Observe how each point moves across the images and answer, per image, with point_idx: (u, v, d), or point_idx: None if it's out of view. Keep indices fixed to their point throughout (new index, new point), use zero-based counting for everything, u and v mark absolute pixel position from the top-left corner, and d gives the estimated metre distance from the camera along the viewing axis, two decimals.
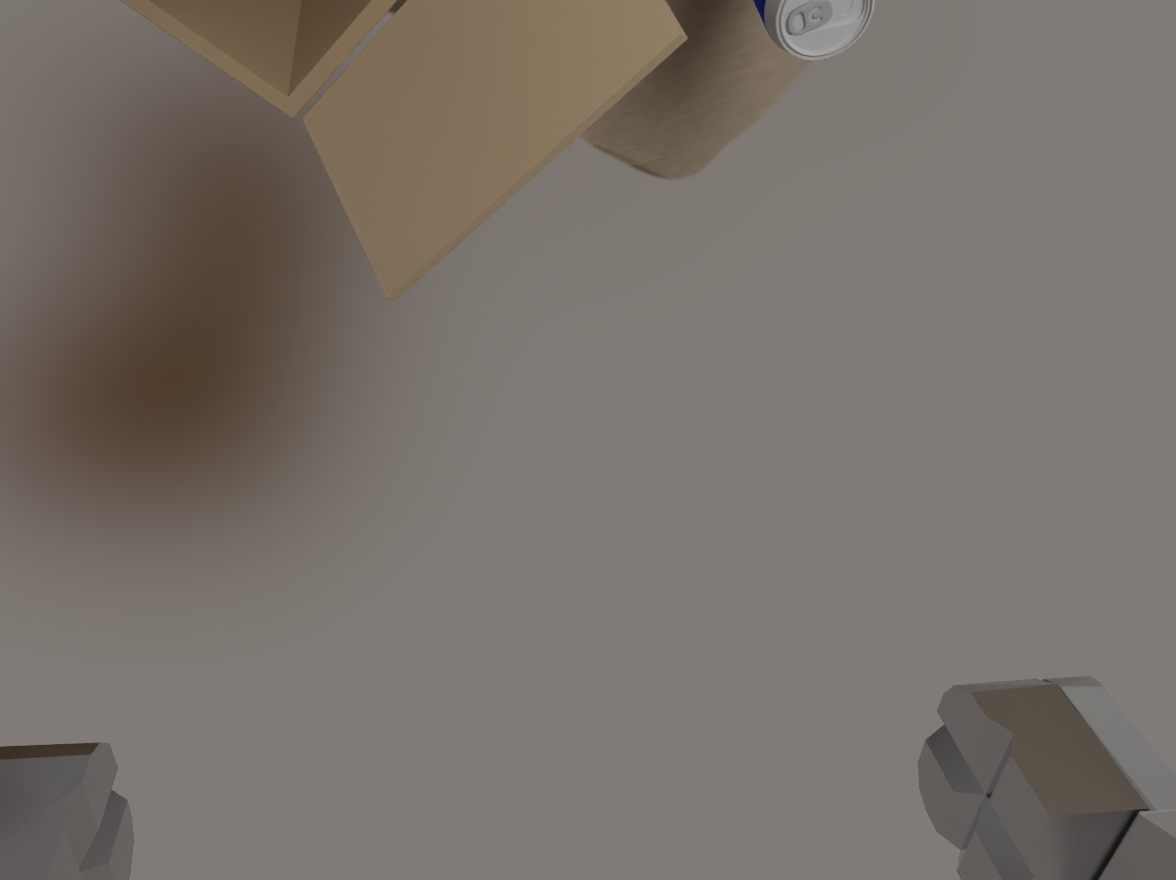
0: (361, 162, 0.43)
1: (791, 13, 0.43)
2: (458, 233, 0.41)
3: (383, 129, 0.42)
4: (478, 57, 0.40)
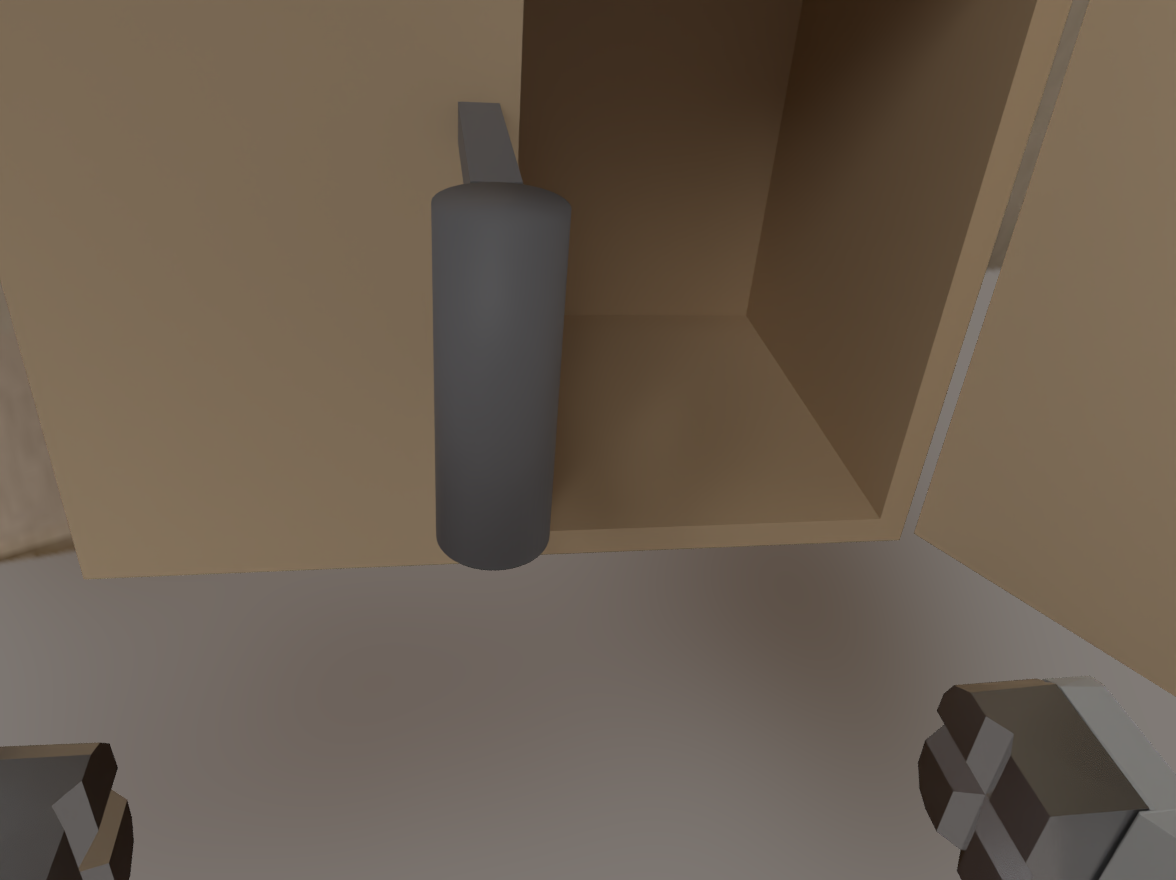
0: (1075, 557, 0.24)
1: None
2: None
3: (1087, 488, 0.23)
4: None
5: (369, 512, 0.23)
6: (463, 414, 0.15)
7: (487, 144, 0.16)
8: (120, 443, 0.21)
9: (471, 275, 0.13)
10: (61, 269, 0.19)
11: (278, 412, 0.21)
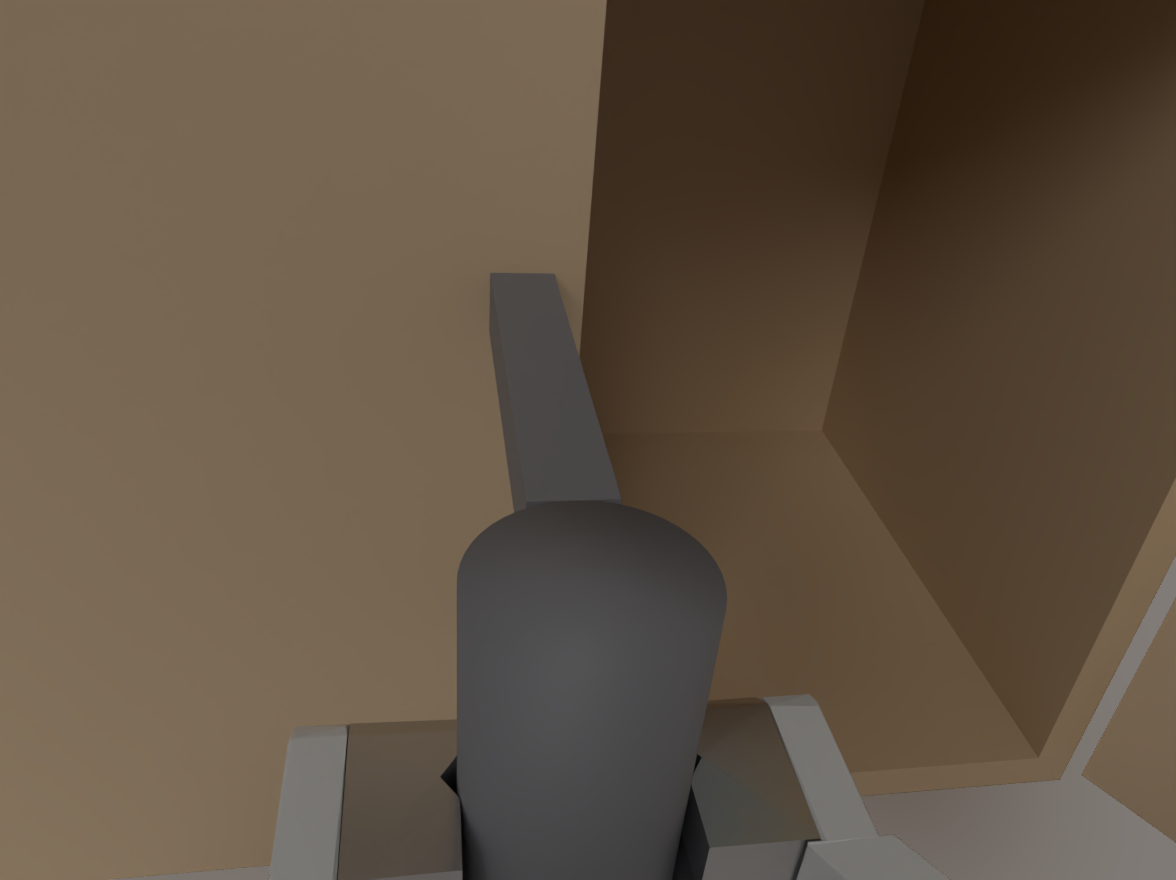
0: None
1: None
2: None
3: None
4: None
5: None
6: None
7: (547, 383, 0.10)
8: None
9: (537, 743, 0.07)
10: None
11: (225, 686, 0.15)
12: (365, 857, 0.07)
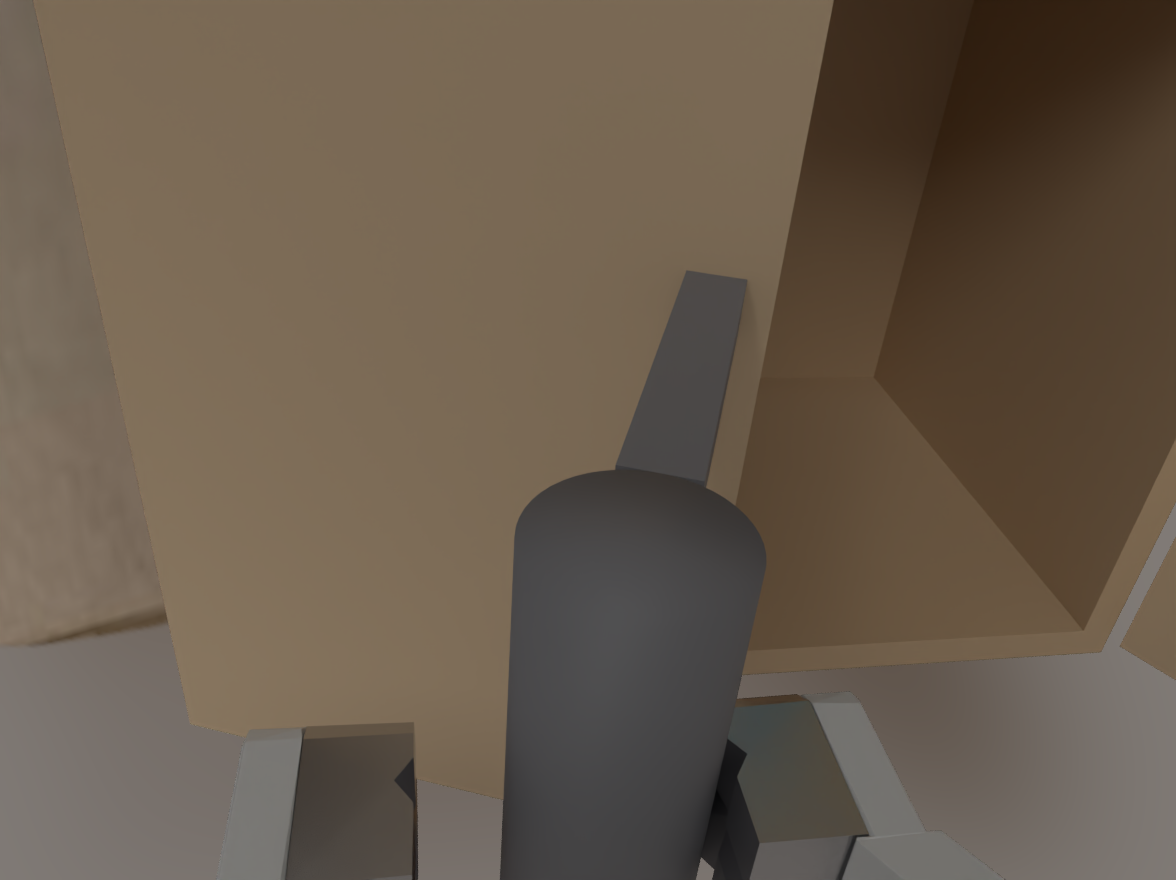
0: None
1: None
2: None
3: None
4: None
5: None
6: (528, 845, 0.09)
7: (688, 371, 0.10)
8: (234, 598, 0.18)
9: (551, 670, 0.07)
10: (182, 401, 0.15)
11: (410, 606, 0.17)
12: (314, 862, 0.07)
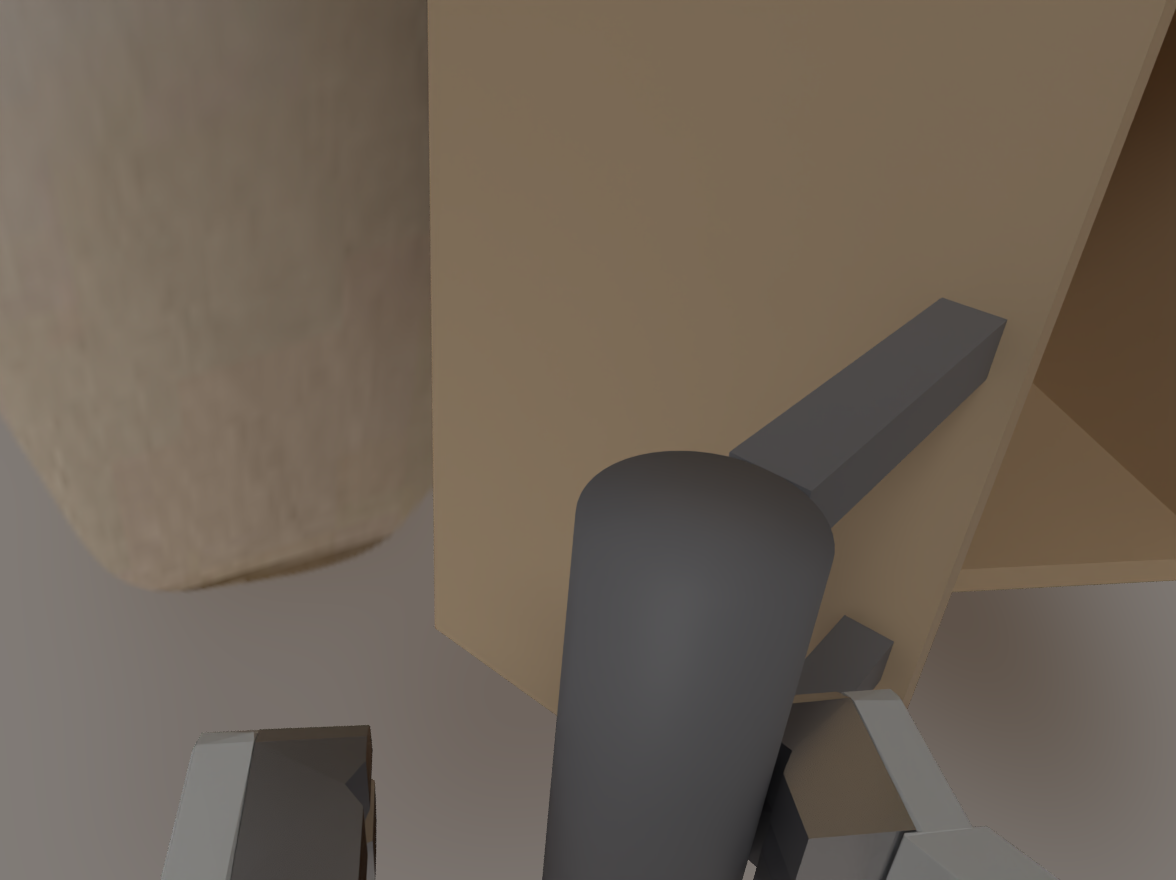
0: None
1: None
2: None
3: None
4: None
5: None
6: (556, 793, 0.09)
7: (871, 389, 0.09)
8: (485, 525, 0.19)
9: (579, 618, 0.07)
10: (475, 337, 0.17)
11: None
12: (259, 866, 0.07)
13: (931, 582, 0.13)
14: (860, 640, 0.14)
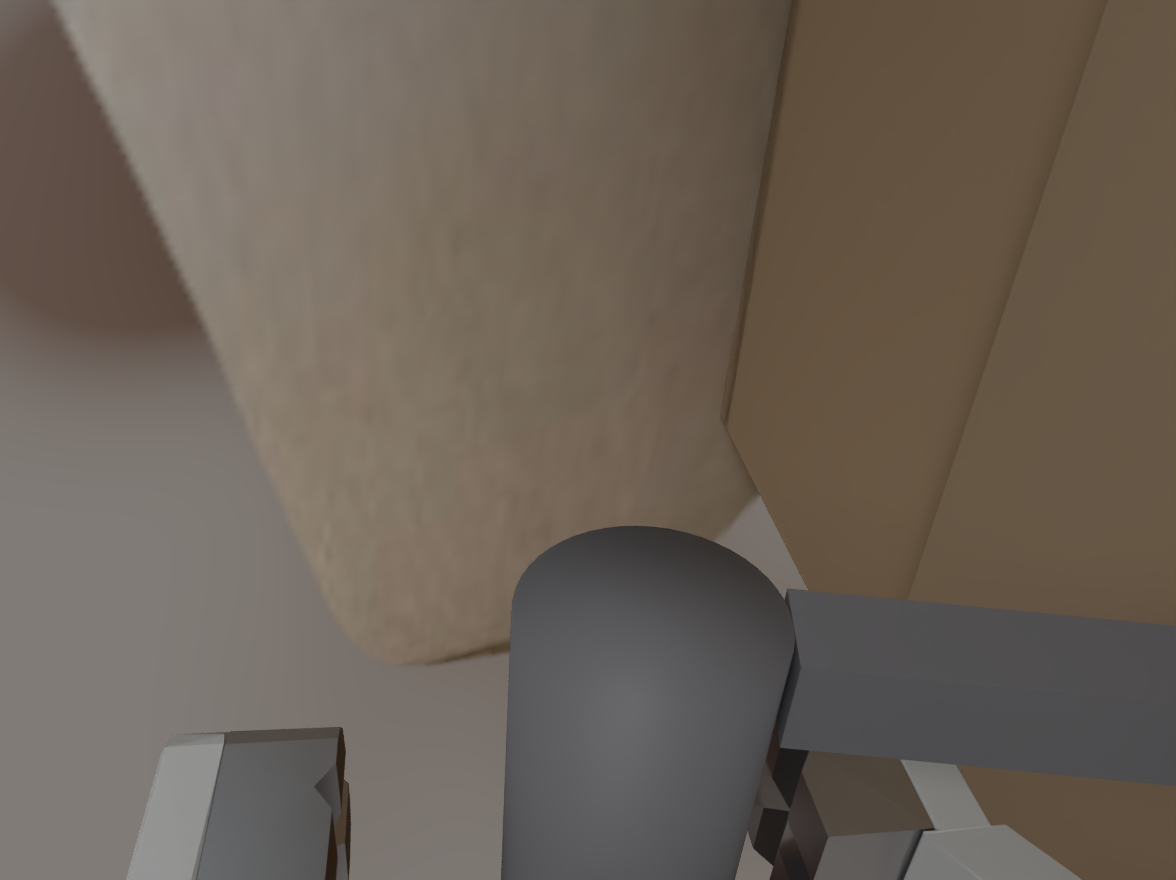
0: None
1: None
2: None
3: None
4: None
5: None
6: None
7: (1076, 651, 0.07)
8: None
9: None
10: (985, 462, 0.16)
11: (993, 795, 0.14)
12: (225, 870, 0.07)
13: None
14: None
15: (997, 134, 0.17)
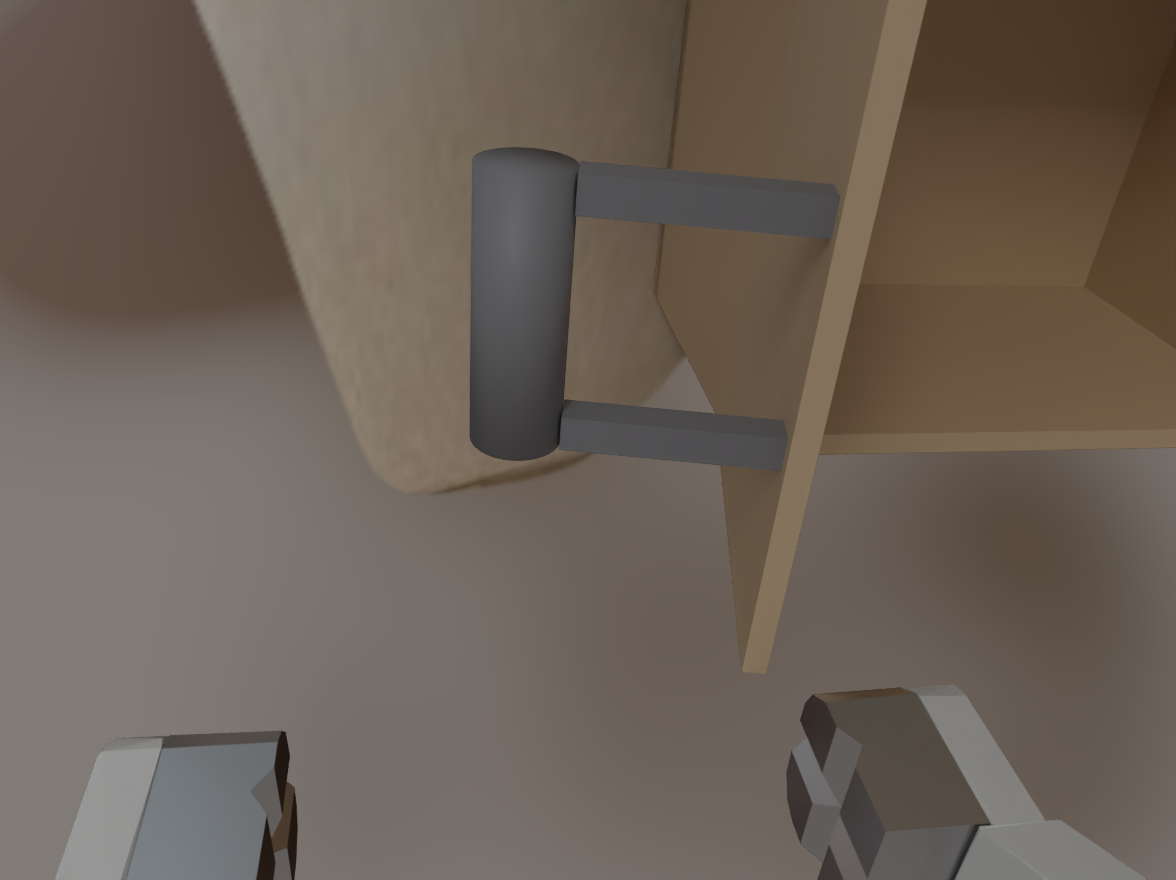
0: None
1: None
2: None
3: None
4: None
5: (742, 531, 0.25)
6: None
7: (686, 176, 0.18)
8: (740, 365, 0.28)
9: None
10: None
11: (754, 400, 0.25)
12: (154, 876, 0.07)
13: (800, 391, 0.19)
14: (770, 428, 0.20)
15: (779, 41, 0.28)
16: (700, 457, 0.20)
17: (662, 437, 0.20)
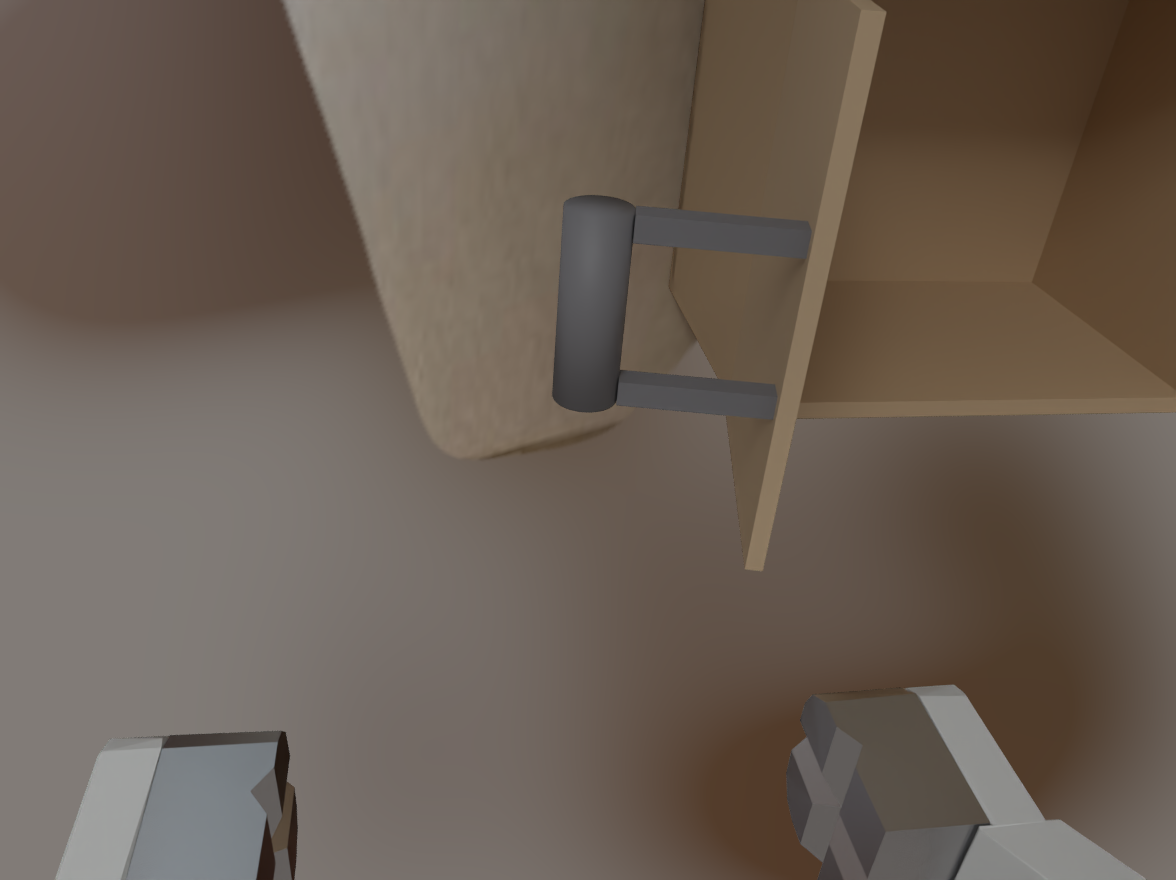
0: None
1: None
2: None
3: None
4: None
5: (745, 470, 0.34)
6: None
7: (708, 216, 0.26)
8: (742, 347, 0.37)
9: None
10: None
11: (754, 372, 0.34)
12: (154, 876, 0.07)
13: (786, 362, 0.28)
14: (765, 389, 0.29)
15: (773, 98, 0.36)
16: (716, 410, 0.29)
17: (689, 396, 0.29)
